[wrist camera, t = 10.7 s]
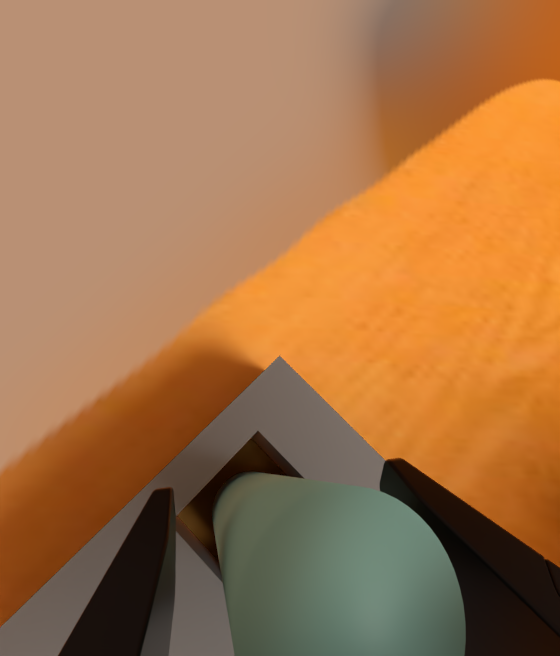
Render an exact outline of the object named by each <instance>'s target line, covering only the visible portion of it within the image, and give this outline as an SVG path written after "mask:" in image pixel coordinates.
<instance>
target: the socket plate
mask: <svg viewBox="0 0 560 656" xmlns="http://www.w3.org/2000/svg"><path fill="white" fill-rule="evenodd" d="M250 438H252V439H253V440H254V441H255V443H256V444H257V445H258V446H259V447H260V448H261V449H262V450H263V451H264V452H265V453H266V454H267V455H268V456H269V457H270V458H271V459H272V460H273V461H274V462H275V463H276V464H277V465H278V466H279V467H280V468H281V470H282V471H283V472H284V473H285V474H286V475H287V476H289V477H296V478H303V479H310V480H317V481H325V482H332V483H339V484H346V485H353V486H360V487H365V488H371V489H374V490H377V491H380V479H381V474H382V470H383V465H384V462H385V460H384V459H383V458H382V457H381V456H380V455H379V454H378V453H377V452H376V451H375V450H374V449H373V448H372V447H371V446H370V445H369V444H368V443H367V442H366V441H365V440H364V439H363V438H362V437H361V436H360V435H359V434H358V433H357V432H356V431H355V430H354V429H353V428H352V427H351V426H350V425H349V424H348V423H347V422H346V421H345V420H344V419H343V418H342V417H341V416H340V415H339V414H338V413H337V412H336V411H335V410H334V409H333V408H332V407H331V406H330V405H329V404H328V403H327V402H326V401H325V400H324V399H323V398H322V397H321V396H320V395H319V394H318V393H317V392H316V391H315V390H314V389H313V388H312V387H311V386H310V385H309V384H308V383H307V382H306V381H305V380H304V379H303V378H302V377H301V376H300V375H299V374H298V373H296V372H295V371H294V370H293V369H292V368H291V367H290V366H289V365H288V364H287V363H286V362H285V361H284V360H283V359H282V358H281V357H280V356H279V357H278V358H277V359H276V360H275V361H274V362H273V363H272V364H271V365H270V366H269V367H268V368H267V369H266V370H264V371H263V372H262V373H261V374H260V375H259V376H258V377H257V378H256V379H255V380H254V381H253V382H252V383H251V384H250V385H249V386H248V387H247V388H246V389H245V390H244V391H243V392H242V393H241V394H240V395H239V396H238V397H237V398H236V399H235V400H234V401H233V402H232V403H231V404H230V405H228V406H227V407H226V408H225V409H224V410H223V411H222V412H221V413H220V414H219V415H218V416H217V417H216V418H215V419H214V420H213V421H212V422H211V423H210V424H209V425H208V426H207V427H206V428H205V429H204V430H203V431H202V432H201V433H200V434H199V435H198V436H197V437H196V438H195V439H194V440H193V441H191V442H190V443H189V444H188V445H187V446H186V447H185V448H184V449H183V450H182V451H181V452H180V453H179V454H178V455H177V456H176V457H175V458H174V459H173V460H172V461H171V462H170V463H169V464H168V465H167V466H166V467H165V468H164V469H163V470H162V471H161V472H160V473H159V474H158V475H157V476H156V477H154V478H153V479H152V480H151V481H150V482H149V483H148V484H147V485H146V486H145V487H144V488H143V489H142V490H141V491H140V492H139V493H138V494H137V495H136V496H135V497H134V498H133V499H132V500H131V501H130V502H129V503H128V504H127V505H126V506H125V507H124V508H123V509H122V510H121V511H120V512H118V513H117V514H116V515H115V516H114V517H113V518H112V519H111V520H110V521H109V522H108V523H107V524H106V525H105V526H104V527H103V528H102V529H101V530H100V531H99V532H98V533H97V534H96V535H95V536H94V537H93V538H92V539H91V540H90V541H89V542H88V543H87V544H86V545H85V546H84V547H83V548H81V549H80V550H79V551H78V552H77V553H76V554H75V555H74V556H73V557H72V558H71V559H70V560H69V561H68V562H67V563H66V564H65V565H64V566H63V567H62V568H61V569H60V570H59V571H58V572H57V573H56V574H55V575H54V576H53V577H52V578H51V579H50V580H49V581H48V582H47V583H46V584H44V585H43V586H42V587H41V588H40V589H39V590H38V591H37V592H36V593H35V594H34V595H33V596H32V597H31V598H30V599H29V600H28V601H27V602H26V603H25V604H24V605H23V606H22V607H21V608H20V609H19V610H18V611H17V612H16V613H15V614H14V615H13V616H12V617H11V618H10V619H8V620H7V621H6V622H5V623H4V624H3V625H2V626H1V627H0V656H58V654H59V653H60V651H61V649H62V647H63V646H64V644H65V642H66V640H67V639H68V637H69V635H70V634H71V632H72V630H73V628H74V627H75V625H76V623H77V621H78V620H79V618H80V616H81V614H82V613H83V611H84V609H85V608H86V606H87V604H88V602H89V601H90V599H91V597H92V595H93V594H94V592H95V590H96V589H97V587H98V585H99V583H100V582H101V580H102V578H103V576H104V575H105V573H106V571H107V569H108V568H109V566H110V564H111V563H112V561H113V559H114V557H115V556H116V554H117V552H118V550H119V549H120V547H121V545H122V543H123V542H124V540H125V538H126V537H127V535H128V533H129V531H130V530H131V528H132V526H133V524H134V523H135V521H136V519H137V518H138V516H139V514H140V512H141V511H142V509H143V507H144V505H145V504H146V502H147V500H148V498H149V497H150V495H151V493H152V492H153V491H154V490H155V489H159V488H166V487H171V488H173V491H174V501H175V512H176V585H175V603H174V613H173V621H172V630H171V639H170V647H169V656H235V654H234V648H233V642H232V636H231V630H230V624H229V618H228V612H227V606H226V600H225V594H224V588H223V582H222V576H221V570H220V564H219V562H218V561H217V559H216V558H215V557H214V556H213V555H212V554H211V553H210V552H209V551H208V550H207V548H206V547H205V546H204V545H203V544H202V543H201V542H200V541H199V540H198V539H197V537H196V536H195V535H194V534H193V533H192V532H191V531H190V530H189V529H188V527H187V526H186V525H185V524H184V523H183V522H182V521H181V520H180V519H179V518H178V516H177V515H178V514H179V513H180V512H181V511H182V510H183V509H184V507H185V506H186V505H187V504H188V503H189V502H190V501H191V500H192V499H193V498H194V497H195V496H196V495H197V494H198V493H199V492H200V491H201V490H202V489H203V488H204V487H205V485H206V484H207V483H208V482H209V481H210V480H211V479H212V478H213V477H214V476H215V475H216V474H217V473H218V472H219V471H220V470H221V469H222V468H223V467H224V466H225V465H226V464H227V462H228V461H229V460H230V459H231V458H232V457H233V456H234V455H235V454H236V453H237V452H238V451H239V450H240V449H241V448H242V447H243V446H244V445H245V444H246V443H247V442H248V440H249V439H250Z"/></svg>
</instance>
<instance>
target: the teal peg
mask: <svg viewBox="0 0 560 656" xmlns="http://www.w3.org/2000/svg"><path fill="white" fill-rule="evenodd" d="M212 521H213V527H214V533H215V539H216V545H217V552H218V558H219V564H220V570H221V576H222V582H223V588H224V594H225V600H226V606H227V612H228V618H229V624H230V630H231V636H232V642H233V648H234V654H235V656H464V655H465V643H466V626H465V614H464V605H463V600H462V595H461V591H460V586H459V583H458V580H457V577H456V574H455V571H454V568H453V566H452V564H451V561H450V559H449V557H448V554H447V553H446V551H445V549H444V547H443V546H442V544H441V542H440V540H439V539H438V538H437V536H436V535H435V534H434V532H433V531H432V529H431V528H430V527H429V526H428V525H427V524H426V522H425V521H424V520H423V519H422V518H421V517H420V516H419V515H418V514H417V513H415V512H414V511H413V510H412V509H411V508H410V507H408V506H407V505H405V504H404V503H402V502H401V501H399V500H398V499H396V498H394V497H392V496H390V495H388V494H386V493H384V492H380V491H377V490H374V489H371V488H365V487H360V486H353V485H346V484H339V483H332V482H325V481H317V480H310V479H303V478H296V477H289V476H282V475H275V474H268V473H261V472H254V471H247V472H242V473H238V474H236V475H234V476H232V477H231V478H229V479H228V480H227V481H226V482H225V483H224V484H223V485H222V486H221V487H220V489H219V490H218V492H217V494H216V496H215V499H214V502H213V506H212Z"/></svg>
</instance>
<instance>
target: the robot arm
mask: <svg viewBox="0 0 560 656" xmlns="http://www.w3.org/2000/svg"><path fill="white" fill-rule="evenodd" d="M380 492H384V493H386V494H388V495H390V496H392V497H394V498H396V499H398V500H399V501H401V502H402V503H404V504H405V505H407V506H408V507H410V508H411V509H412V510H413V511H414V512H415V513H417V514H418V515H419V516H420V517H421V518H422V519H423V520H424V521H425V522H426V524H427V525H428V526H429V527H430V528H431V529H432V531H433V532H434V534H435V535H436V536H437V538H438V539H439V540H440V542H441V544H442V546H443V547H444V549H445V551H446V553H447V554H448V557H449V559H450V561H451V564H452V566H453V568H454V571H455V574H456V577H457V580H458V583H459V586H460V591H461V595H462V600H463V605H464V614H465V626H466V643H465V655H464V656H560V568H559V567H558V566H557V565H555V564H554V563H552V562H551V561H549V560H548V559H544V557H543V556H542V555H541V554H539V553H538V552H536V551H535V550H533V549H532V548H530V547H529V546H528V545H526V544H525V543H523V542H522V541H520V540H519V539H517V538H516V537H515V536H513V535H512V534H510V533H509V532H507V531H506V530H505V529H503V528H502V527H500V526H499V525H497V524H496V523H494V522H493V521H492V520H490V519H489V518H487V517H486V516H484V515H483V514H481V513H480V512H479V511H477V510H476V509H474V508H473V507H471V506H470V505H469V504H467V503H466V502H464V501H463V500H461V499H460V498H458V497H457V496H456V495H454V494H453V493H451V492H450V491H448V490H447V489H445V488H444V487H443V486H441V485H440V484H438V483H437V482H435V481H434V480H433V479H431V478H430V477H428V476H427V475H425V474H424V473H422V472H421V471H420V470H418V469H417V468H415V467H414V466H412V465H411V464H410V463H408V462H407V461H405V460H404V459H401V458H395V459H388V460H386V461H385V462H384V465H383V470H382V474H381V479H380ZM175 585H176V512H175V501H174V491H173V488H171V487H166V488H159V489H155V490H154V491H153V492H152V493H151V495H150V497H149V498H148V500H147V502H146V504H145V505H144V507H143V509H142V511H141V512H140V514H139V516H138V518H137V519H136V521H135V523H134V524H133V526H132V528H131V530H130V531H129V533H128V535H127V537H126V538H125V540H124V542H123V543H122V545H121V547H120V549H119V550H118V552H117V554H116V556H115V557H114V559H113V561H112V563H111V564H110V566H109V568H108V569H107V571H106V573H105V575H104V576H103V578H102V580H101V582H100V583H99V585H98V587H97V589H96V590H95V592H94V594H93V595H92V597H91V599H90V601H89V602H88V604H87V606H86V608H85V609H84V611H83V613H82V614H81V616H80V618H79V620H78V621H77V623H76V625H75V627H74V628H73V630H72V632H71V634H70V635H69V637H68V639H67V640H66V642H65V644H64V646H63V647H62V649H61V651H60V653H59V654H58V656H169V647H170V639H171V630H172V621H173V613H174V603H175Z"/></svg>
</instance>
